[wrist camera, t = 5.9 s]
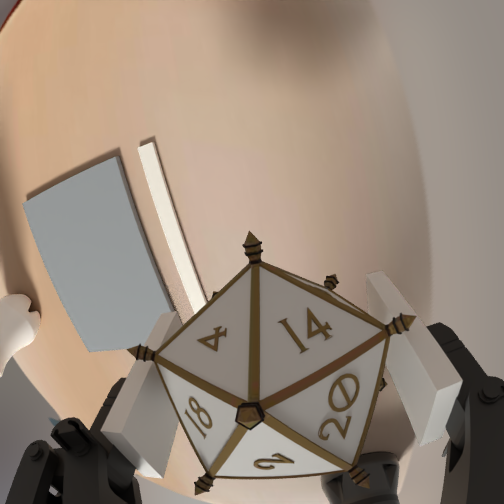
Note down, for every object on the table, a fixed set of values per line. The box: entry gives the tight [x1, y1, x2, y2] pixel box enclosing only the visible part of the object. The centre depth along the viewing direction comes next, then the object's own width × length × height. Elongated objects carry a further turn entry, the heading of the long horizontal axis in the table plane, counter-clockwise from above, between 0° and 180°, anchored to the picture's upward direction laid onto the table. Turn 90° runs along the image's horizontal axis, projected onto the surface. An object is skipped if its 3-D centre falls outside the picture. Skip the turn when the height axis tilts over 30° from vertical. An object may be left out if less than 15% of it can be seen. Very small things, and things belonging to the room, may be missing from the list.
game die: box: [126, 231, 417, 495], centre depth 9 cm, size 9×8×10 cm
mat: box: [23, 156, 175, 352], centre depth 29 cm, size 20×14×1 cm
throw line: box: [138, 142, 207, 314], centre depth 27 cm, size 20×2×1 cm, turn 15°
